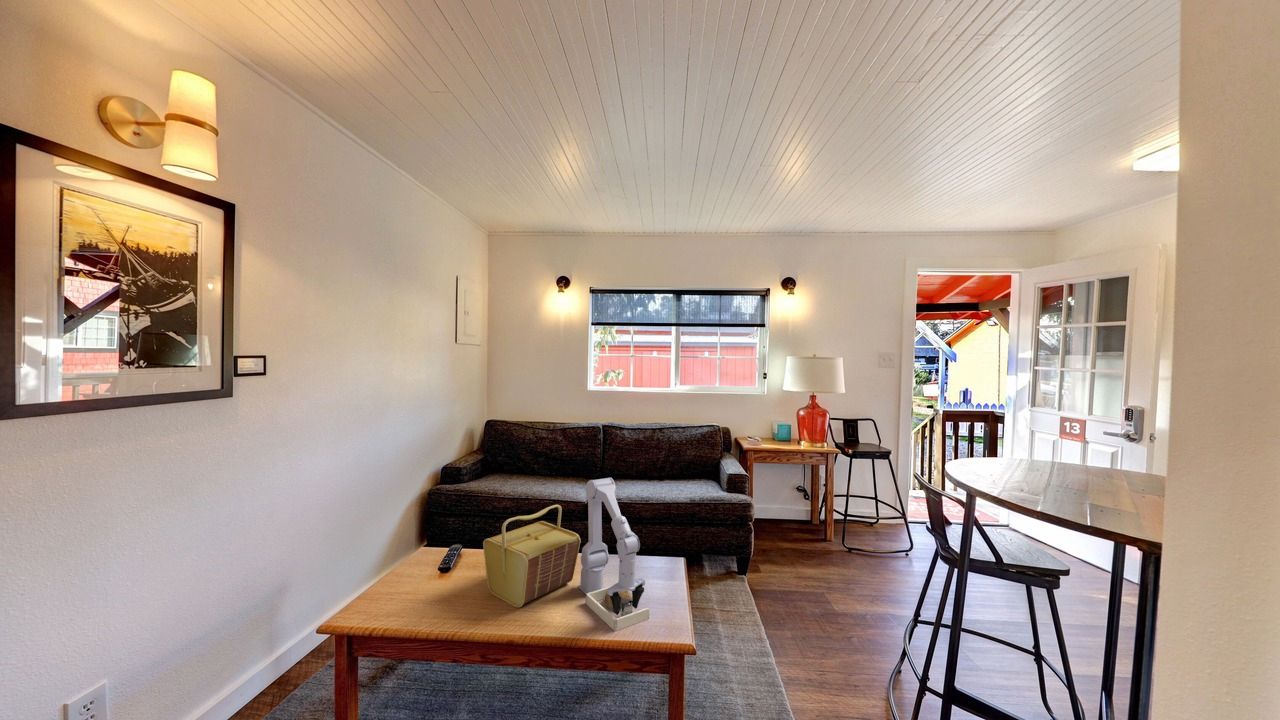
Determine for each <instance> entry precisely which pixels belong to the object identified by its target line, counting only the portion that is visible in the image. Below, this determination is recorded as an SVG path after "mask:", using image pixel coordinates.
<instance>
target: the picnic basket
mask: <svg viewBox="0 0 1280 720" xmlns="http://www.w3.org/2000/svg"><path fill="white" fill-rule="evenodd" d="M554 508H557V509H558V513H557V514H558V516H557V523H556V525H555V524H552V523H549V522H547V521H544V520H540V521H537V522H534V523H531V524H527V525H525V526H522V527H519V528H518V527H517V528H516V529H512V530H510V531H507V532H506V527H507V525H508V524H509V523H510V522H514V521H517V520H521V521H530V520H533V519H536V518H537V519H538V518H539V517H542V516H543V515H545V514H546V513H547V512H548V511H549V510H551V509H554ZM562 510H563V509H562V506H561V505H559V504H553V505H551V506H548V507H545V508H544V509H541V510H540V511H538V512H536V513H533V514H530V515H517V516H515V517H511V518H508V519H506V520H505V521H504V522H503V523H502V526H501V533H500V534H498V535H495V536H492V537H489V538H485V539H484V540H483V542H482V544H483V545H482V546H483V547H482V548H483V554H484V555H483V558H484V564H485V566H484V567H485V573H486V584H487V587H488V589H489V591H490V593H491V594H492V595H493V596H495V597H497V598H498V599H500V600H502V601H504V602H506V603H507V604H509V605H510V606H512V607H514V608H516V609H517V608H521V607H522V606H523V605H525V604H527V603H528V602H531V601H533V600H535V599H537V598H539V597H540V596H543V595H544V594H547V593H549V592H551V591H553V590H555V589H557V588H559V587H560V586H563V585H565V584H568V583H569V584H570V583H571V582H572V581H573V579H574V575H575V570H576V566H577V560H578V555H579V550H580V545H581V542H582V541H581V537H580V535H579V534H578V533H576V532H574V531H572V530H569V529H565V528H563V527H561V522H562V521H561V520H562V512H563V511H562Z"/></svg>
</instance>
